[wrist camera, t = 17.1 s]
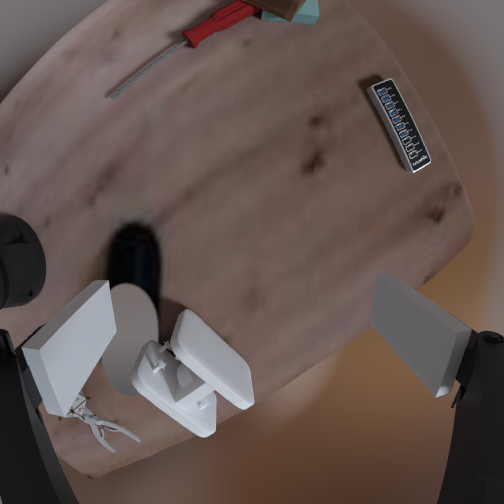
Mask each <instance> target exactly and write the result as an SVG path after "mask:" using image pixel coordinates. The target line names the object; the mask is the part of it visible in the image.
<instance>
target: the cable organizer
mask: <svg viewBox="0 0 504 504" xmlns="http://www.w3.org/2000/svg"><path fill="white" fill-rule="evenodd" d="M164 343H165V345H164V346H161V345H160V344H159V343H157V342H155V341H152V340H151V341H149V342H148V343H147V344H146V345H144V346H143V347H142V350H141V352H140V354H139V356H138V359H137V361H136V363H135V366H134V368H133V370H132V373H131V375H130V379H131V382H132V383H133V385H134V387H135V388H136V389H137V390H138V392H139V393H140V394H141V395H143V396H144V397H146V398H147V399H148V400H149V401H151V402H152V403H153V404H154V405H156V406H157V407H158V408H159V409H161V410H162V411H164V412H165V413H166V414H168V415H169V416H170V417H172V418H173V419H175V420H176V421H177V422H179V423H180V424H182V425H183V426H184V427H186V428H187V429H189V430H190V431H191V432H193V433H195V434H196V435H198V436H200V437H207V436H209V435H211V434H213V433H214V432H215V431H216V396H215V394H214V392H213V391H214V390H216V391H217V392H219V393H220V394H221V395H222V396H224V397H225V398H226V399H227V400H229V401H230V402H231V403H233V404H234V405H235V406H237V407H238V408H240V409H247V408H248V407H250V406H251V405H253V404H254V396H253V389H252V382H251V374H250V369H249V367H248V365H247V363H246V362H245V361H244V359H243V358H242V357H241V356H240V355H238V354H237V353H236V352H235V351H234V350H233V349H232V348H231V347H230V346H229V345H228V344H227V343H225V342H224V341H223V340H222V339H221V338H220V337H219V336H218V335H217V334H216V333H215V332H214V331H213V330H212V329H211V328H210V327H209V326H207V325H206V324H205V323H204V322H203V321H202V320H201V319H200V318H199V317H198V316H197V315H196V314H195V313H194V312H192V311H191V310H189V309H185V310H184V311H183V312H181V313H180V314H179V315H178V318H177V321H176V325H175V328H174V331H173V334H172V337H171V340H170V344H169V342H168V341H167V342H164ZM170 347H171V349H172V351H173V352H174V354H175V355H176V358H175V357H174V356H173V355H172V354H170V353H169V352H168V351H167V350H166V349H167V348H168V349H169V350H170ZM170 351H171V350H170ZM178 360H180V361H181V362H182V363H181V362H179V361H178Z"/></svg>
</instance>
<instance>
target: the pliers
mask: <svg viewBox="0 0 504 504" xmlns="http://www.w3.org/2000/svg"><path fill="white" fill-rule="evenodd" d="M83 417H84V418H85V420H84V419H83V418H82V417H79V418H80V419H81V420H83V421H84V422H86V423H89V424H90V426H91V429H92V432H93V434H94V435H95V437H96V438H97V439H98V440H99V441H100V442H101V443H102V444H103V445H104V446H105V447H106V448H108V449H109V450H111V451H112V452H114V453H116V451H115V450H114V449H113V448H112V447H110V446H109V445H108V444H107V443H106V442H105V440H104V439H103V437H104V432H103V430H102V428H101V429H100V430H101V432H102V436H101V435H100V434H99V431H98V428H97V426H96V425H95V424H97V425H106V426H109V427H112V428H115V429H111V428H108V427H104V428H105V429H107V430H110V431H120V432H123V433H125V434H127V435H128V436H130V437H131V438H133V439H135V440H136V441H138V442H141V440H140V439H139V438H138V437H136V436H135V435H134V434H133V433H131V432H130V431H128V430H127V429H125V428H123V427H122V426H120V425H118V424H116V423H113V422H111V421H107V420H104V419H101V418H99V417H97V416H94V415H93V414H92V412H91V411H90V410H89V409H88V408H87V407H86V406H85V409H84V413H83ZM94 423H95V424H94Z"/></svg>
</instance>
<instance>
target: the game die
mask: <svg viewBox="0 0 504 504" xmlns="http://www.w3.org/2000/svg"><path fill="white" fill-rule="evenodd" d="M87 399H88V400H90V399H91V398H90V397H86V395H85V394H84V392H83V390H82V389H81V390H80V392H79V394H78V396H77V397H76V399H75V401H74V402H73V404H72V406H71V408H70V409H69V411H68V413H67V415H66V417H62V416H60V418H59V421H61V418H69V417H82V418H83V419H84V420H85V418H84V417H83V413H84V409H85V406H86V402H87Z"/></svg>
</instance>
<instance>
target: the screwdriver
mask: <svg viewBox="0 0 504 504" xmlns="http://www.w3.org/2000/svg"><path fill="white" fill-rule="evenodd" d="M260 10H261V8H258V7H256V6H254V5H251V4H249V3H247V2H244V1H242V0H236V1H234V2H232V3H230V4H228V5H226V6H224V7H222V8H220V9H219V10H217V11H215V12H214V13H213V14H212V15H211V16H210V17H209V18H208V19H206V20H205V21H204V22H202V23H200V24H199V25H197V26H196V27H194V28H192V29H190V30H184V31H183V32H182V35H183V37H184V39H185V41H183V42H182V43H180V44H179V45H177V46H176V47H174V48H173V49H171V50H170V51H168V52H167V53H166V54H164V55H163V56H161V57H160V58H159V59H157V60H156V61H155V62H153V63H152V64H151V65H149V66H148V67H147V68H145V69H144V70H143V71H142V72H140V73H139V74H138V75H136V76H135V77H134V78H133V79H132V80H130V81H129V82H128V83H127V84H125V85H124V86H123V87H122V88H121V89H119V90H118V91H116V92H115V93H114V94H113V95H112V96H111V97H112V99H114V98H116V97H117V96H119V95H120V94H121V93H122V91H124V90H125V89H126V88H127V87H128V86H129V85H131V84H132V83H133V82H134V81H135V80H137V79H138V78H139V77H140V76H142V75H143V74H144V73H146V72H147V71H148V70H149V69H151V68H152V67H153V66H155V65H156V64H157V63H159V62H160V61H162V60H163V59H164V58H166V57H167V56H168V55H170V54H171V53H173V52H174V51H176V50H177V49H179V48H180V47H181V46H183V45H184V44H186V43H188V44H189V45H190V46H191V47H192V48H196V47H197V45H198V43H199V42H200V41H202V40H203V39H205V38H206V37H208V36H209V35H211V34H213V33H215V32H218V31H221V30H224V29H227V28H229V27H231V26H232V25H234V24H236V23H238V22H239V21H241V20H243V19H245V18H247V17H249V16H250V15H252V14H254V13H257V12H259V11H260Z"/></svg>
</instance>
